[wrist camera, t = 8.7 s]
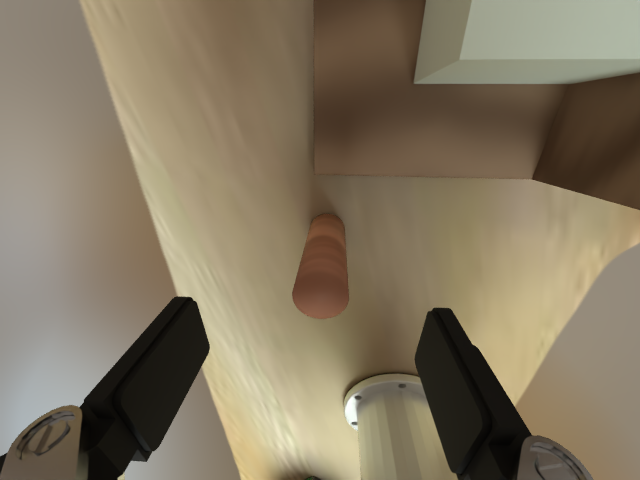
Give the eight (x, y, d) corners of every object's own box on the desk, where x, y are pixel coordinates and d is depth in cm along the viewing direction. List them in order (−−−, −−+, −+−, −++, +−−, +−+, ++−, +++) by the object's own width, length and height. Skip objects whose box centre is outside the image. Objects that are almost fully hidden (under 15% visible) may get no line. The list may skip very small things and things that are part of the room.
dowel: (343, 245, 21) (347, 319, 13) (310, 245, 21) (293, 317, 13) (345, 214, 20) (350, 274, 12) (309, 213, 20) (290, 272, 12)
